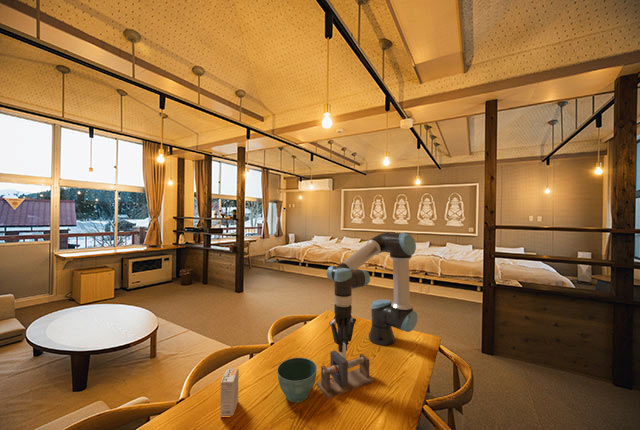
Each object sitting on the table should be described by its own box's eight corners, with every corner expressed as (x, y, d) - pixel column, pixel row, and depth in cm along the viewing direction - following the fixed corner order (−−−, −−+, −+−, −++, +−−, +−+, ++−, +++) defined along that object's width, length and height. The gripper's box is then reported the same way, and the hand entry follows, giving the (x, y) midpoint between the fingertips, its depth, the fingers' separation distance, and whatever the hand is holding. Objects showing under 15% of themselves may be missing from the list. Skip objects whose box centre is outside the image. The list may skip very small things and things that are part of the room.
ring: (335, 372, 114) (335, 350, 114) (347, 385, 105) (347, 361, 105) (330, 374, 113) (330, 351, 113) (342, 387, 104) (342, 362, 104)
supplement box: (226, 402, 98) (226, 368, 99) (238, 401, 99) (239, 368, 99) (219, 418, 90) (219, 381, 90) (233, 418, 91) (233, 381, 91)
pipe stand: (360, 369, 121) (360, 350, 121) (374, 381, 112) (374, 360, 112) (316, 384, 109) (316, 363, 109) (327, 399, 100) (327, 376, 101)
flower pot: (301, 416, 92) (301, 386, 92) (268, 399, 100) (268, 371, 100) (324, 390, 105) (324, 364, 106) (293, 378, 114) (293, 353, 114)
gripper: (350, 299, 117) (350, 351, 116) (325, 303, 111) (325, 358, 110) (360, 304, 110) (359, 359, 110) (334, 309, 104) (334, 366, 104)
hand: (342, 358), depth 110 cm, fingers closed
